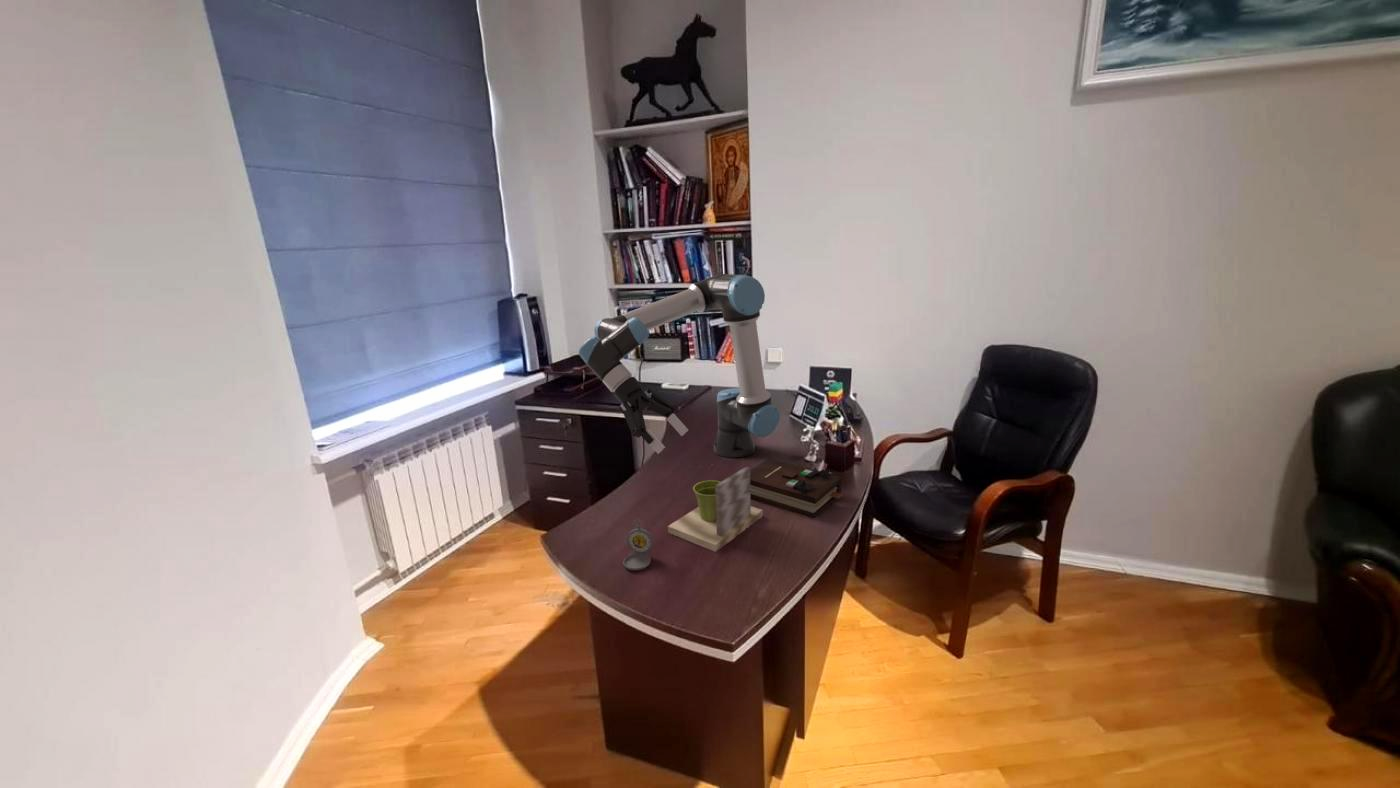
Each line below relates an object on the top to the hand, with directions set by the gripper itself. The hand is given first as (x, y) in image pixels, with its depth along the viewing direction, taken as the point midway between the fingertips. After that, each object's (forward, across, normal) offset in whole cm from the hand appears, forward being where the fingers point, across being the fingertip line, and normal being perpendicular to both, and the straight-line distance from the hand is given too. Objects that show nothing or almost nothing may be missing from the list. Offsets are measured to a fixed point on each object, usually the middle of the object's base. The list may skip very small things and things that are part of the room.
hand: (674, 441), depth 149 cm
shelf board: (+24, +1, -8) cm, 26 cm away
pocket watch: (+17, +24, -15) cm, 33 cm away
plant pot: (+22, 0, -7) cm, 23 cm away
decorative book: (+35, -23, +2) cm, 42 cm away
